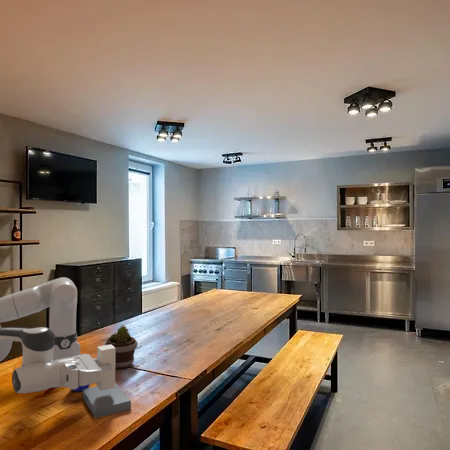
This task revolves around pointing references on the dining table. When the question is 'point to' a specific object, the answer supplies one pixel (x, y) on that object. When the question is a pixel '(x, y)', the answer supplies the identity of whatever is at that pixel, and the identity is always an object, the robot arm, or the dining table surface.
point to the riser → (106, 401)
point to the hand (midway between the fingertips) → (108, 363)
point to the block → (105, 357)
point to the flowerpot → (123, 347)
